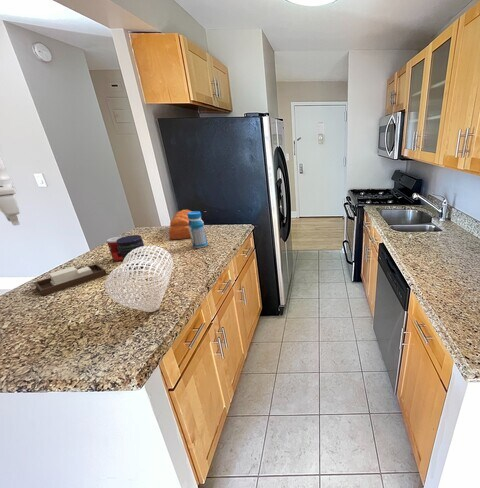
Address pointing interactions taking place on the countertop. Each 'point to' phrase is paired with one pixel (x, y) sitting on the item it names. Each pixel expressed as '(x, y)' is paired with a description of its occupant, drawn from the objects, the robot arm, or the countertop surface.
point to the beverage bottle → (197, 229)
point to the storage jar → (130, 247)
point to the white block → (68, 274)
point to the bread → (180, 225)
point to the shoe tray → (48, 288)
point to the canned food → (114, 249)
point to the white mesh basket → (140, 261)
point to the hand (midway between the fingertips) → (14, 222)
